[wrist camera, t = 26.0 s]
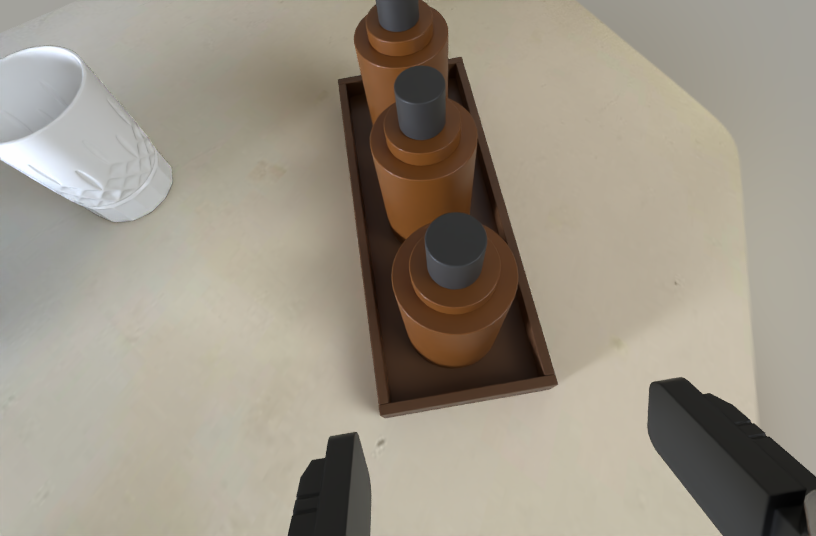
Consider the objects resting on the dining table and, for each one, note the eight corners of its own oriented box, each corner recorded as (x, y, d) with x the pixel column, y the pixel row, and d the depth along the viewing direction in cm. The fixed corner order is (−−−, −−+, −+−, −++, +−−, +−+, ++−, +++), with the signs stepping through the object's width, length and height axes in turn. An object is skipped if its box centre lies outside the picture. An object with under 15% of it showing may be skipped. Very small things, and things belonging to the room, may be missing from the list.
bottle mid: (474, 186, 31) (490, 42, 20) (463, 257, 29) (474, 140, 18) (397, 177, 32) (372, 35, 21) (381, 245, 30) (343, 127, 19)
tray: (549, 389, 26) (558, 384, 24) (384, 418, 26) (380, 416, 24) (460, 77, 36) (461, 56, 34) (343, 98, 36) (337, 79, 34)
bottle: (476, 269, 29) (495, 157, 18) (512, 350, 26) (560, 279, 15) (394, 298, 28) (362, 202, 17) (424, 382, 26) (409, 333, 15)
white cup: (183, 213, 33) (83, 123, 24) (83, 241, 33) (-57, 161, 24) (178, 137, 36) (87, 31, 27) (87, 162, 36) (-36, 63, 27)
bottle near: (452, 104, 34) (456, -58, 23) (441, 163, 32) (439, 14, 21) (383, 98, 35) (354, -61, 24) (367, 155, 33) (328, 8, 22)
